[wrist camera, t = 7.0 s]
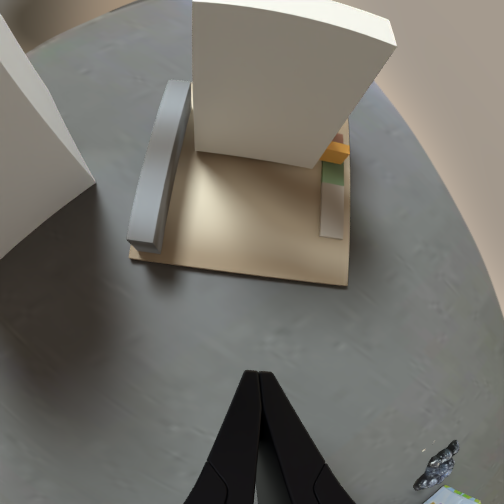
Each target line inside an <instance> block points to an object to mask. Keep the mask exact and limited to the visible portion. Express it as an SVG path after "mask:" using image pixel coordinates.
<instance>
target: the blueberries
mask: <svg viewBox="0 0 504 504" xmlns="http://www.w3.org/2000/svg"><path fill="white" fill-rule="evenodd" d="M434 442H435V441H434ZM433 444H434V443H433ZM433 444H432V445H433ZM424 450H425V449H424ZM424 450H423V451H424ZM458 451H459V443H458V441H457V440H454V441H452V442H451V443H450V444H449V446H448V447H447V448H446V449H443V450H442V451H440V452H439V453H438V454H437V455H435V456H433V457H432V458H431V459H430V461H429V463H428V465H427V468H426V471H425V473H424V474H423V475H422V476H421V477H420V478H419V479H417V481H416V482H415V483H414V485H413V488H414V489H415V490H417V491H418V490H421V489H424V488H428V487H432V486H434V485H435V484H440V483H441V482H442V481H443V480H444V478H445V477H447V476H449V475H450V473H451V471H452V469H453V467H454V463H455V462H454V460H453V458H452V457H453V456H454V455H455V454H456V453H457V452H458Z"/></svg>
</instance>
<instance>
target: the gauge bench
mask: <svg viewBox="0 0 504 504" xmlns="http://www.w3.org/2000/svg"><path fill="white" fill-rule="evenodd" d="M332 141H333V142H337V143H342V144H346V145H349V128H348V118H347V120H346V121H345V123H344V124H343V125H342V127H341V128H340V130H339V131H338V133H337V134H336V136H335V137H334V138H333V140H332ZM349 239H350V154H349V156H348V157H347V158H346V159H345V160H344V162H343V163H342V164H341V165H340V164H336V163H331V162H326V161H322V160H318V162H317V163H316V164H315V166H314V167H313V169H310V168H304V167H299V166H294V165H288V164H283V163H277V162H271V161H265V160H259V159H252V158H246V157H239V156H232V155H225V154H218V153H210V152H202V151H195V140H194V115H193V83H191V81H182V80H168V83H167V86H166V89H165V92H164V95H163V98H162V101H161V104H160V107H159V110H158V114H157V117H156V120H155V123H154V127H153V130H152V133H151V137H150V140H149V144H148V148H147V151H146V155H145V159H144V162H143V166H142V170H141V174H140V178H139V182H138V186H137V190H136V195H135V199H134V203H133V208H132V212H131V217H130V222H129V227H128V232H127V237H126V240H127V241H128V242H129V243H130V244H131V247H130V253H129V258H130V259H134V260H141V261H148V262H155V263H162V264H169V265H177V266H184V267H191V268H199V269H206V270H214V271H221V272H229V273H237V274H245V275H253V276H261V277H269V278H277V279H285V280H294V281H302V282H311V283H320V284H329V285H338V286H347V285H348V266H349Z"/></svg>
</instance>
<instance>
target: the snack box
mask: <svg viewBox="0 0 504 504" xmlns="http://www.w3.org/2000/svg"><path fill="white" fill-rule="evenodd" d="M423 504H481V501H480V500H477V499H475V498H472V497H470V496H468V495H466V494H463V493H461V492H459V491H457V490H455V489H453V488H451V487H449V486H447V485H444V486H443V487H441V488H440V489H439V490H438V491H437V492H436V493H435V494H434V495H433V496H431V497H430V498H429V499H428V500H427V501H426V502H424V503H423Z"/></svg>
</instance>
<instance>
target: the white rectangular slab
mask: <svg viewBox="0 0 504 504" xmlns="http://www.w3.org/2000/svg"><path fill="white" fill-rule="evenodd" d="M396 47H397V44H396V41H395V38H394V34H393V31H392V28H391V25H390V22H389V20H388V19H385V18H383V17H380V16H377V15H374V14H372V13H369V12H366V11H363V10H360V9H357V8H354V7H351V6H348V5H345V4H341V3H338V2H334V1H331V0H193V1H192V77H193V115H194V140H195V151H202V152H210V153H218V154H225V155H232V156H239V157H246V158H252V159H259V160H265V161H271V162H277V163H283V164H288V165H294V166H299V167H304V168H310V169H313V167H314V166H315V164H316V163H317V162H318V160H322V161H326V162H331V163H336V164H340V165H341V164H342V163H343V162H344V160H345V159H346V158H347V157H348V156H349V154H350V147H349V145H346V144H342V143H337V142H333V141H332V140H333V138H334V137H335V136H336V134H337V133H338V131H339V130H340V128H341V127H342V125H343V124H344V123H345V121H346V120H347V118H348V117H349V115H350V114H351V112H352V111H353V110H354V108H355V107H356V105H357V104H358V102H359V101H360V99H361V98H362V97H363V95H364V94H365V92H366V91H367V89H368V88H369V86H370V85H371V84H372V82H373V81H374V79H375V78H376V76H377V75H378V73H379V72H380V70H381V69H382V68H383V66H384V65H385V63H386V62H387V60H388V59H389V57H390V56H391V55H392V53H393V52H394V50H395V49H396Z"/></svg>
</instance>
